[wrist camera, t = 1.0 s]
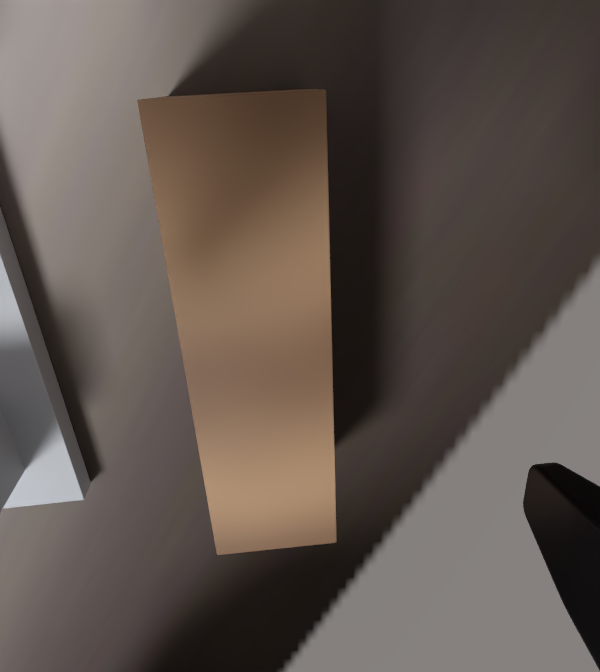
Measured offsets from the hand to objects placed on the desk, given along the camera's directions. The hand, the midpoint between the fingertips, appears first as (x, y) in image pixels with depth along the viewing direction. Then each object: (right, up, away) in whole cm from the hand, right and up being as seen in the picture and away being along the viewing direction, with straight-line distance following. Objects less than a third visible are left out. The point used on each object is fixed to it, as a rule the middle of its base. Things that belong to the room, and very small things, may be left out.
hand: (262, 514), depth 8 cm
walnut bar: (-1, +4, +7) cm, 8 cm away
